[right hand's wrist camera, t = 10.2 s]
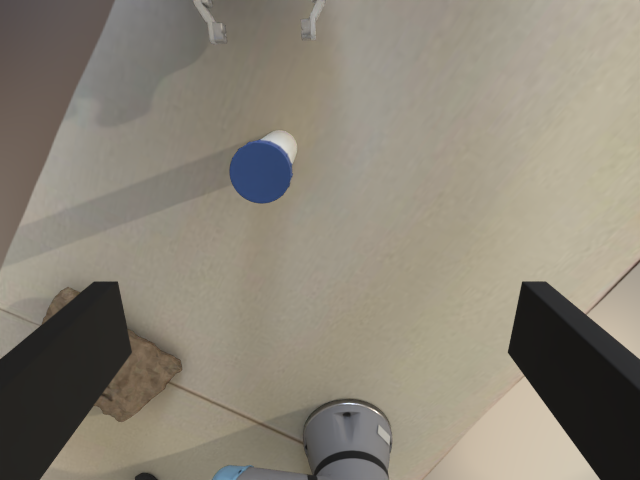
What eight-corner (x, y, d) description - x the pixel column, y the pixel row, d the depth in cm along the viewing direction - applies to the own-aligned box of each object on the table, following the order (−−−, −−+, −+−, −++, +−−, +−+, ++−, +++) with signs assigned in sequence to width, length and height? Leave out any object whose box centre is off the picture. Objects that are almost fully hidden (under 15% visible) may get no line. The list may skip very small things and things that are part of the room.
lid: (221, 175, 36) (216, 179, 35) (255, 126, 35) (252, 128, 33) (270, 210, 37) (267, 215, 36) (304, 164, 36) (303, 167, 34)
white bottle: (255, 151, 51) (225, 177, 35) (275, 122, 50) (254, 135, 34) (283, 172, 52) (267, 207, 36) (304, 144, 51) (297, 168, 35)
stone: (7, 352, 58) (-14, 377, 53) (70, 278, 58) (56, 295, 52) (132, 411, 66) (126, 438, 61) (188, 347, 66) (187, 368, 60)
